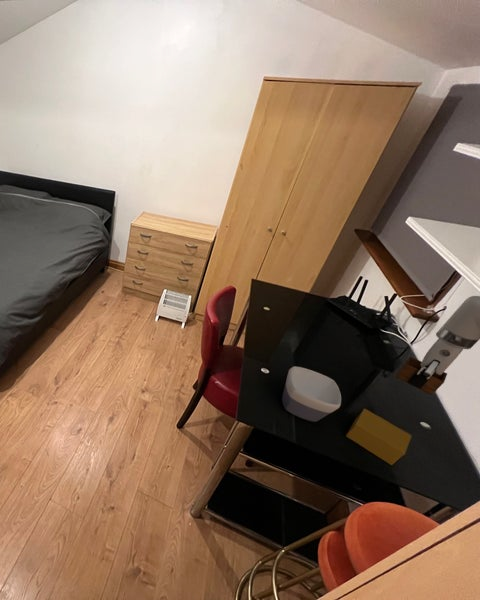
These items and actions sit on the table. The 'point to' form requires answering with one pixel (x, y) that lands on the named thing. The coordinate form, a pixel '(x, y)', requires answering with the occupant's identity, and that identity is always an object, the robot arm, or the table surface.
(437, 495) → the table surface
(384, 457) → the box
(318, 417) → the bowl
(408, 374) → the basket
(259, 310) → the table surface
